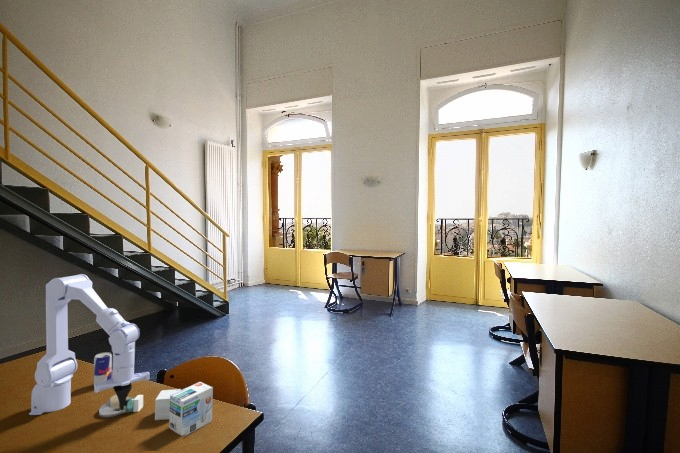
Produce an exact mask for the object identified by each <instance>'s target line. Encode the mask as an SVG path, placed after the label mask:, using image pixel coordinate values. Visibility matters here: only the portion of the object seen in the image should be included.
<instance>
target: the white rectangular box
mask: <svg viewBox="0 0 680 453" xmlns="http://www.w3.org/2000/svg"><path fill="white" fill-rule="evenodd" d="M143 407H144V394H137V395H136V396H135V397H134V401H133V410H132V412H133V413H137V412H140V410H142V409H143Z"/></svg>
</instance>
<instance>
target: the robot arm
mask: <svg viewBox="0 0 680 453" xmlns="http://www.w3.org/2000/svg"><path fill="white" fill-rule="evenodd" d="M72 300H79V301H80V302H81V303H82V304H83V305H85V306H86V308H88V309H89V310H90V311H91V312H92V313H94V315H96V318H95V321H96V323H97V324H98V325H99V327H101V328H102V329H103V330H104V332H106V334H107V335H108V336H109V337H108V342H109V345H110V346H111V352H112V379H109V380H107V381H104V382H101V383H98V384H94V383H93V390H94V393H95V394H97V393H99V392H101V391H105V390H109V389H113V390H114V393H115V395H117V397H118V400H119V408H120V410H122V409H124V403H125V400H126V398H127V397H129V396H128V395H129V393H131V391H132V387H133V385H132V384H133V383H136V382H140V381H148V380H150V378H151V377H150V375H151V374H150V372H149V371H144V372H138V373H137V372H136V373H135V354H136V341H137V340H138V339H139V338H140V334H141V333H140V328H139V327H138V325H137V324H135V323H132V322H131V323H130V322H129V321H126V320H125V319H124V318H123V316H122V314H120V313H119V311H118V310H117V309H115V308H114V307H113V308H111V307H108V306H107V305H106V304H105V303H104V301H103V300H102V299H101V297H100V296H99V295H98V293H97V292H96V291H95V290H94V288H93V281H92V280H91V279H90V278H89V277H88V275H86V274H83V273H80V274H75V275H71V276H63V277H55V278H52V279H51V280H50V281H49V282H47V283H46V284H45V331H46V332H45V334H46V336H45V337H46V339H45V340H46V341H45V342H46V353H44V355H43V356H42V357H41V358H40V359H39V361H38V362H37V363H36V364H37V365H36V370H35V373H34V380H35V382H36V384H35V385H34V387H33V388H32V390H31V395H30V396H31V401H30V402H31V403H30V407H31V409H30V412H29V413H28V415H30V416H40V415H41V416H42V414H43V413H51V412H57V411H59V410H63V409H65V408H66V407H68V406H70V405H71V402H72V400H71V398H72V396H71V391H72V385H71V384H72V378H73V377H74V374H75V372H77V370H78V361H77V359H76V353H75V352H74V351H72V350H70V349H69V330H68V329H69V328H68V327H69V326H68V325H69V324H68V323H69V322H68V319H69V318H68V316H69V315H68V314H69V313H68V304H69V303H70V302H71V301H72Z"/></svg>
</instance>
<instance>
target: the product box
mask: <svg viewBox="0 0 680 453" xmlns="http://www.w3.org/2000/svg"><path fill="white" fill-rule="evenodd" d="M181 390H182V389H181V388H178V389H163V390H161V391H160V392H159V394H158V395H157V396H156V398H155V400H154V402H155V403H154V421H160V420H170V395H171V394H174V393H176V392H178V391H181Z"/></svg>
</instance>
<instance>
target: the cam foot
mask: <svg viewBox="0 0 680 453" xmlns="http://www.w3.org/2000/svg"><path fill="white" fill-rule="evenodd" d="M134 399H135V397H133V396H127V398H126V400H125V403H124V409H122V410H120V408H119V400H118V397H117V394H114V395H112V396H111V397H110V398H108V399H107V402H105V403H104V404H102V405H101V406H100V407H99V408H98V410H99V412H98V415H99V416H100V417H101V418H113V417H117V416H121V415H123V414H124V413H131V412H133V401H134Z"/></svg>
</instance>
